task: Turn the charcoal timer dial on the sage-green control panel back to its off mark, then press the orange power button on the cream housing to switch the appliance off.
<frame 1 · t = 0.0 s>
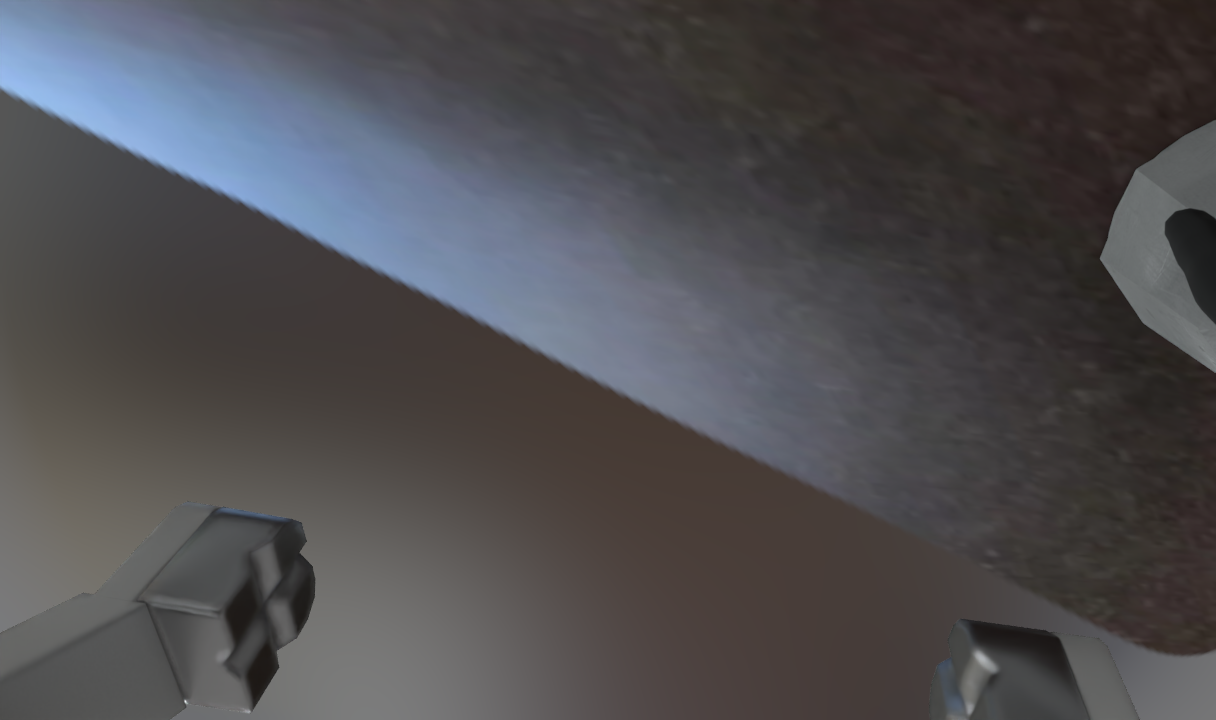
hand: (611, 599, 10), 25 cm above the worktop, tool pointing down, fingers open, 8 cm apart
coffeepot: (1210, 208, 30), on the worktop
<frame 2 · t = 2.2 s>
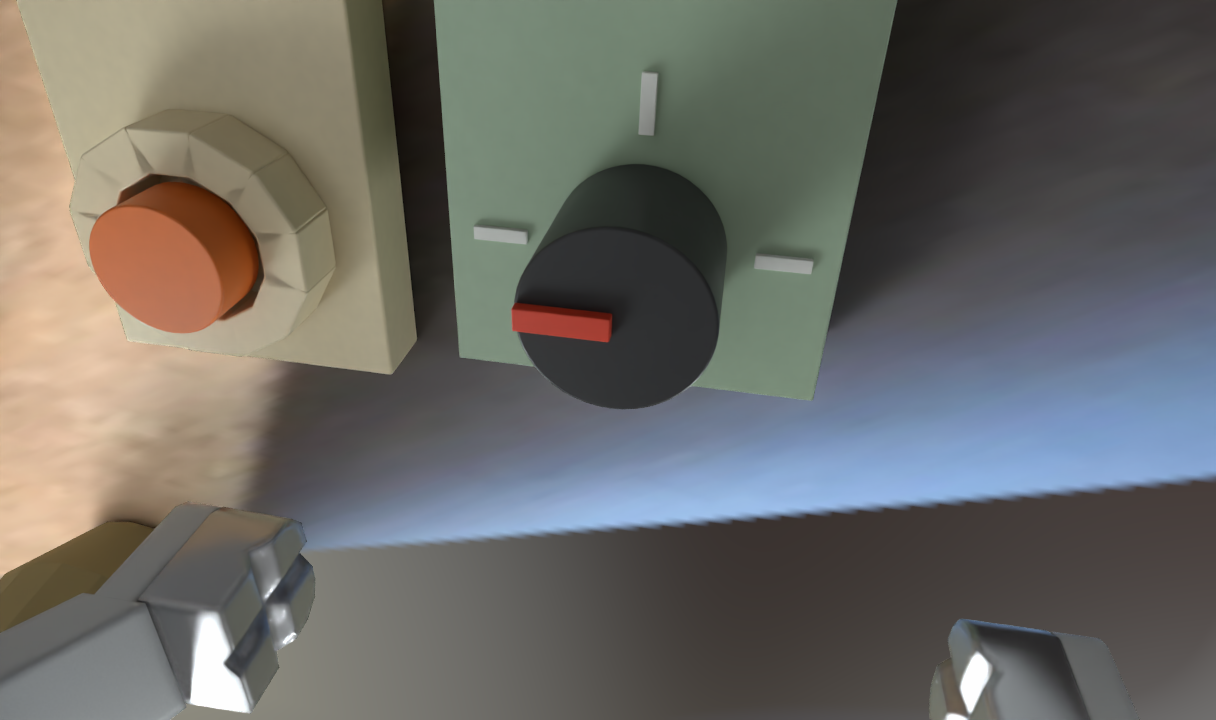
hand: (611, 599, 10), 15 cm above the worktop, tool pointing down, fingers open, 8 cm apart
timer dial: (626, 286, 19), point 5 cm above the worktop, hinge at -90.0°
squeeze bottle: (155, 564, 36), on the worktop
power button: (176, 258, 21), point 4 cm above the worktop, slide at 0.1 cm
dial panel: (658, 134, 22), on the worktop
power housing: (259, 166, 24), on the worktop
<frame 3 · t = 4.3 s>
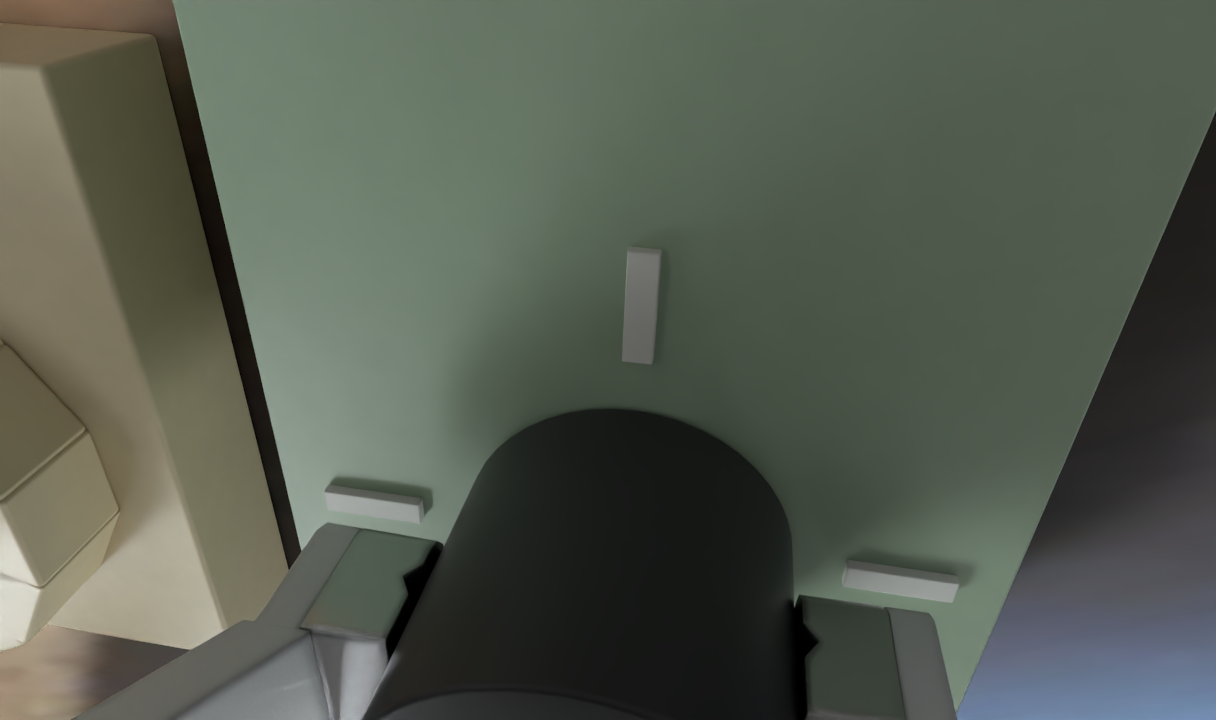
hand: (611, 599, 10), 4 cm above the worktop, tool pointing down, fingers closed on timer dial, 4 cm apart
timer dial: (598, 673, 9), point 5 cm above the worktop, hinge at -90.0°, touching gripper
dial panel: (661, 306, 12), on the worktop
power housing: (13, 330, 15), on the worktop
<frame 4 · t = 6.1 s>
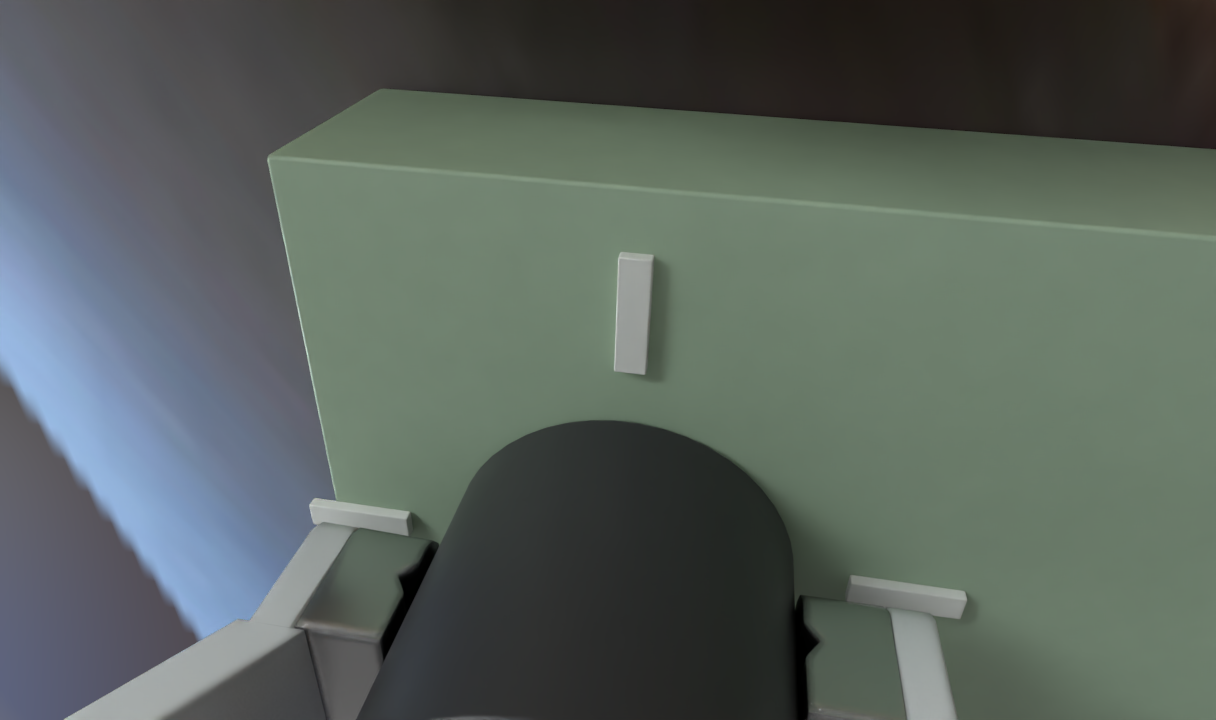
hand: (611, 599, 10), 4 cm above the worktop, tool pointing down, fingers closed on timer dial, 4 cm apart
timer dial: (591, 696, 9), point 5 cm above the worktop, hinge at -3.3°, touching gripper
dial panel: (774, 434, 13), on the worktop
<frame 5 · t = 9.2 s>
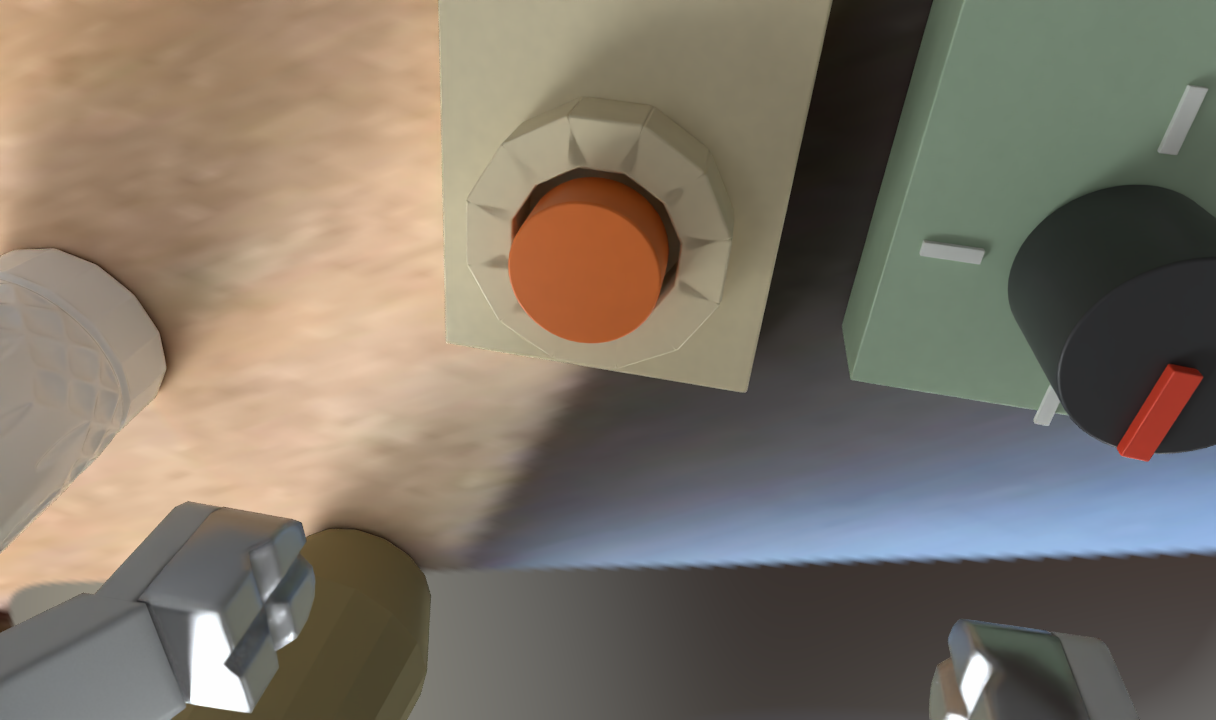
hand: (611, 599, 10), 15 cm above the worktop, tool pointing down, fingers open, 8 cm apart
timer dial: (1145, 318, 17), point 5 cm above the worktop, hinge at -3.0°
squeeze bottle: (366, 574, 34), on the worktop
white cup: (84, 329, 29), on the worktop
power button: (590, 261, 19), point 4 cm above the worktop, slide at 0.1 cm
dial panel: (1099, 151, 20), on the worktop
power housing: (622, 162, 22), on the worktop
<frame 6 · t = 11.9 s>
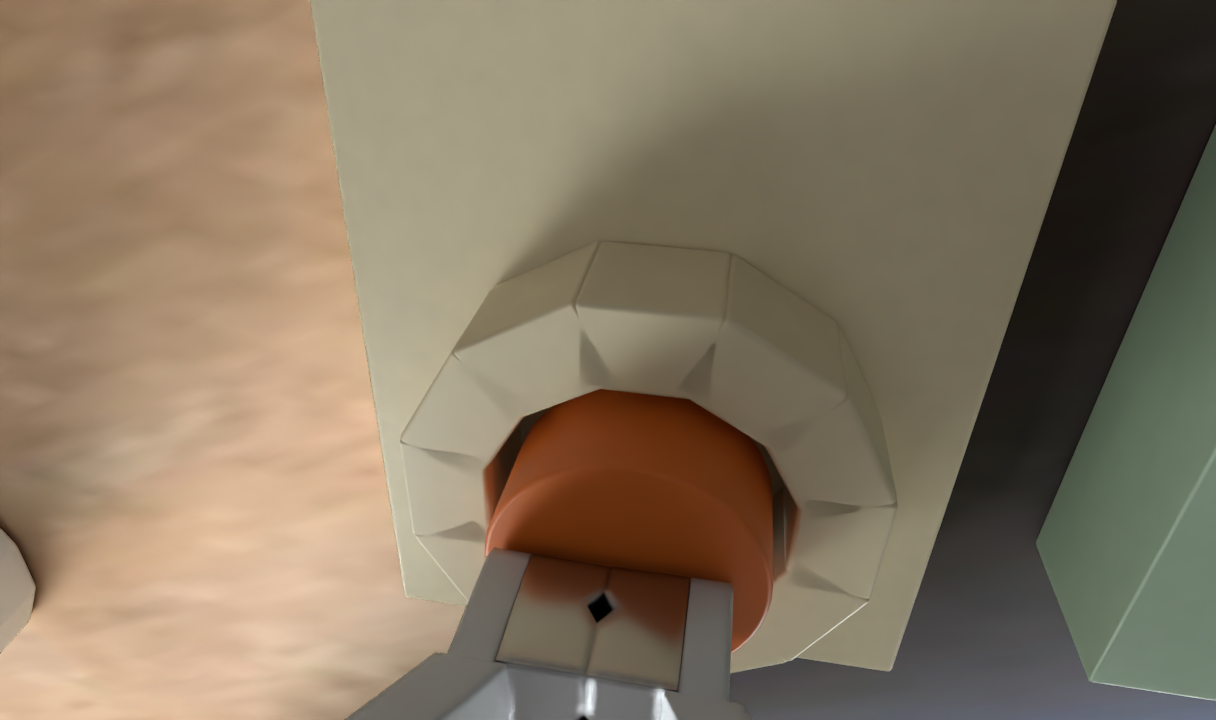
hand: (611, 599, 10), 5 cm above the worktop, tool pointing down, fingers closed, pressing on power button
power button: (634, 530, 11), point 4 cm above the worktop, slide at -0.2 cm, touching gripper
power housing: (670, 314, 14), on the worktop
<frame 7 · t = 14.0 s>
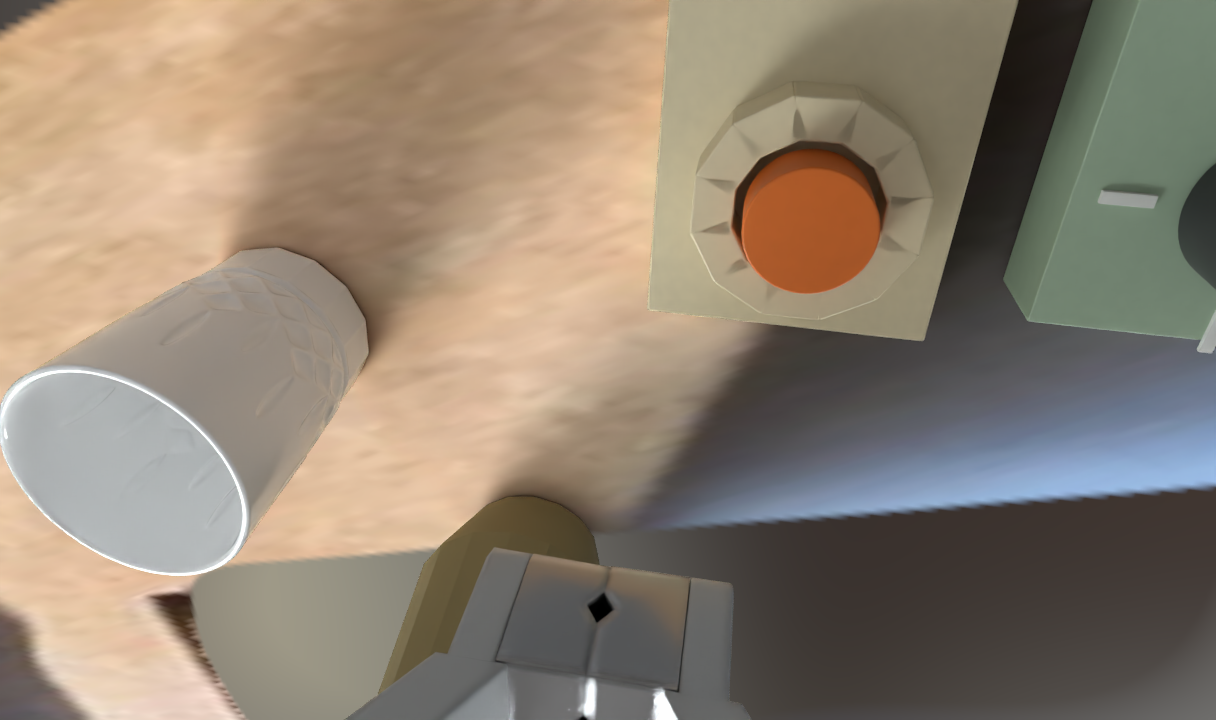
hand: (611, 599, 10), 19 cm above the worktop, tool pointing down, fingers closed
squeeze bottle: (535, 540, 37), on the worktop
white cup: (293, 321, 33), on the worktop
power button: (808, 221, 22), point 4 cm above the worktop, slide at 0.1 cm
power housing: (807, 141, 25), on the worktop
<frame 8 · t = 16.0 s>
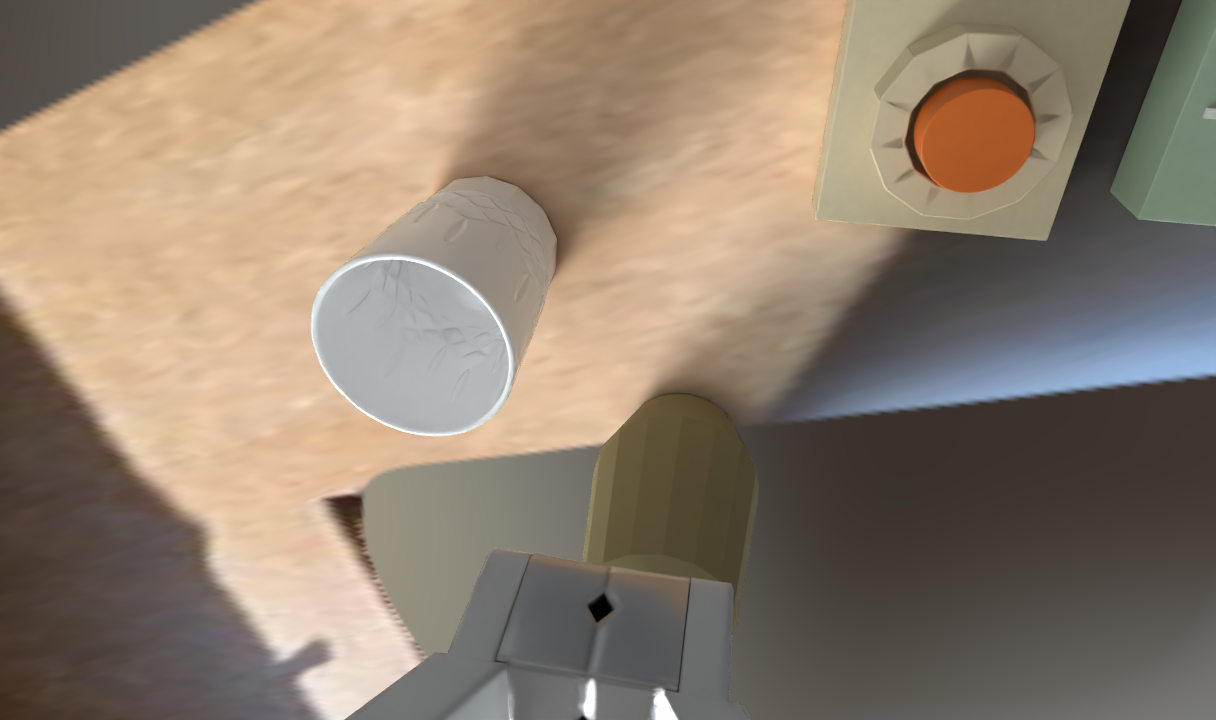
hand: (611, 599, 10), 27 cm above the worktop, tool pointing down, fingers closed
squeeze bottle: (682, 435, 43), on the worktop
white cup: (490, 241, 38), on the worktop
power button: (971, 135, 28), point 4 cm above the worktop, slide at 0.1 cm
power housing: (954, 76, 31), on the worktop
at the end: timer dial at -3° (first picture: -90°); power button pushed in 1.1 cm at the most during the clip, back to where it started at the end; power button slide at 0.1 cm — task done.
